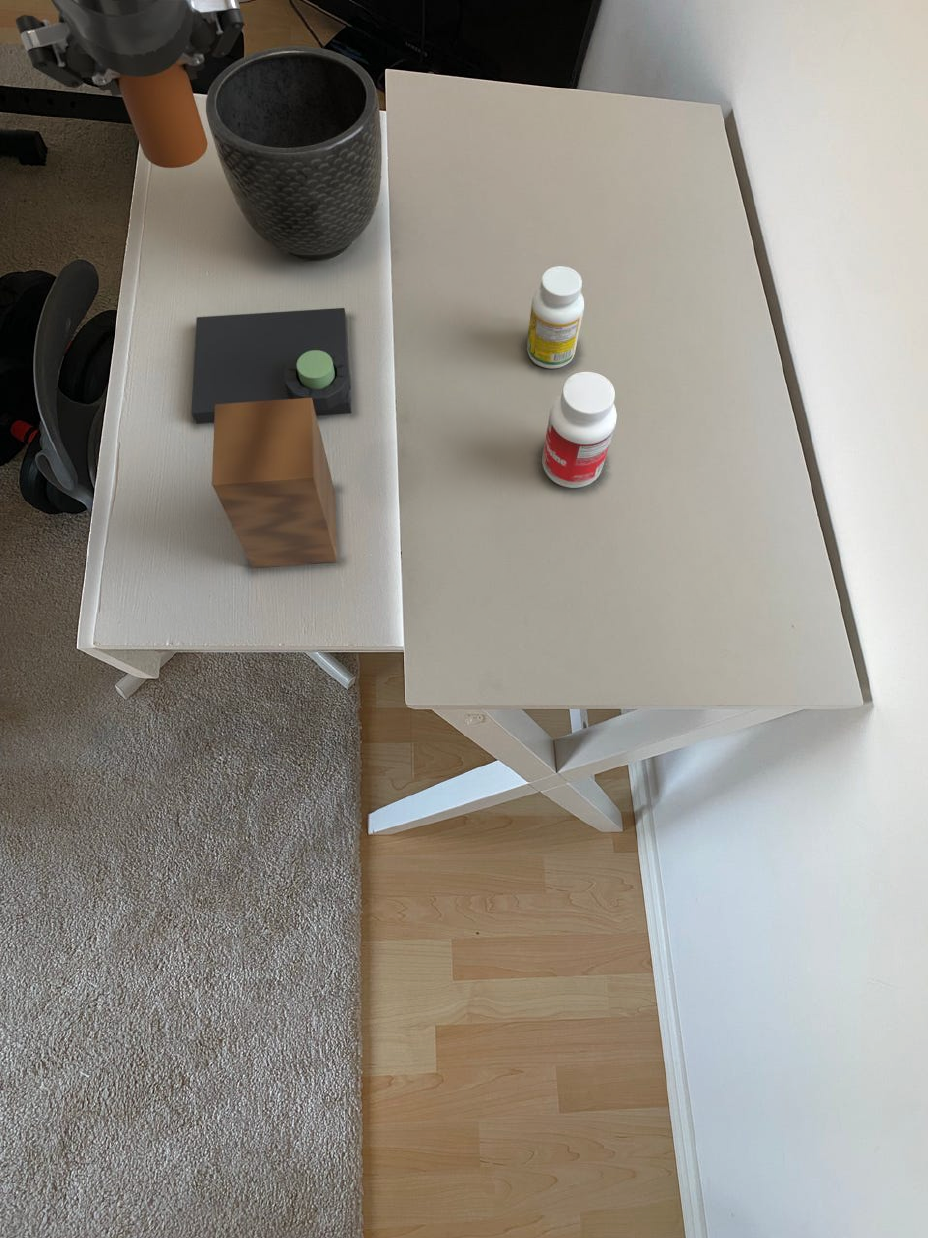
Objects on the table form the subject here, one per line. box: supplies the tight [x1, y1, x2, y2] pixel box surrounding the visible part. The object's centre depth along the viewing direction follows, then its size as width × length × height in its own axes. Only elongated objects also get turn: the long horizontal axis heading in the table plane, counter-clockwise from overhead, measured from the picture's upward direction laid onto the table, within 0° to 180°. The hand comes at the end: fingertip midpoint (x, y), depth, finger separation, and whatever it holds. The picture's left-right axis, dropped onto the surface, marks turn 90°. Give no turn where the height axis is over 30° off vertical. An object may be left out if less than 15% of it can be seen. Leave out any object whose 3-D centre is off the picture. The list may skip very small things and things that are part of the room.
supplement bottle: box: [526, 265, 585, 369], centre depth 82 cm, size 5×5×10 cm
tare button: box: [297, 350, 335, 389], centre depth 79 cm, size 4×4×2 cm
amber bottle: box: [116, 64, 208, 169], centre depth 57 cm, size 5×5×10 cm
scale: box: [191, 307, 352, 425], centre depth 83 cm, size 16×14×4 cm
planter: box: [205, 45, 383, 262], centre depth 85 cm, size 17×17×16 cm
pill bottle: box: [541, 371, 618, 489], centre depth 75 cm, size 6×6×11 cm
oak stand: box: [211, 398, 338, 569], centre depth 70 cm, size 8×8×14 cm
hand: (149, 71), depth 59 cm, fingers closed on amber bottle, 5 cm apart
